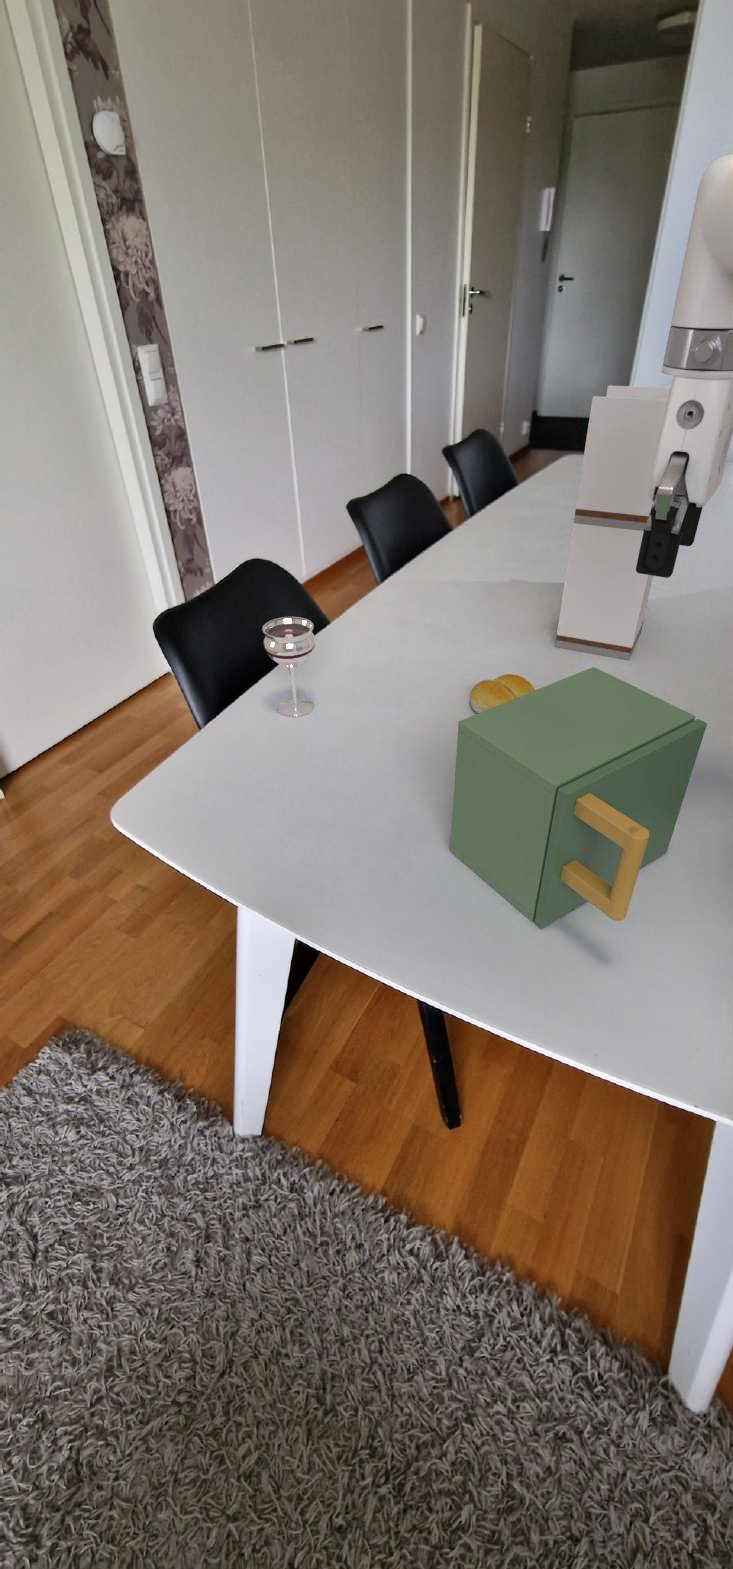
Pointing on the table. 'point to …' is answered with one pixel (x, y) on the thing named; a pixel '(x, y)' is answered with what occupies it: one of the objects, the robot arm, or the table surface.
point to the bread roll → (498, 691)
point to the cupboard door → (615, 826)
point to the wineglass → (290, 654)
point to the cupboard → (541, 770)
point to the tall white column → (612, 524)
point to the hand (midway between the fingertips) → (665, 558)
